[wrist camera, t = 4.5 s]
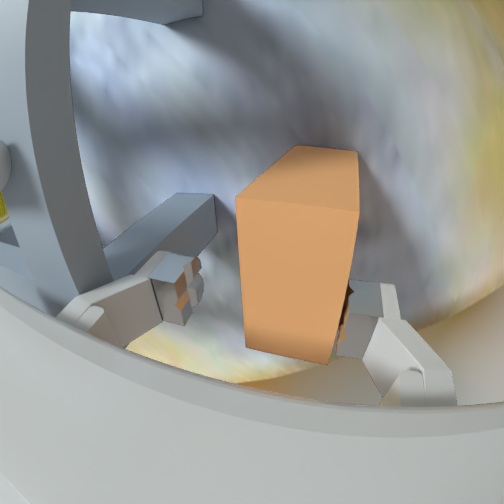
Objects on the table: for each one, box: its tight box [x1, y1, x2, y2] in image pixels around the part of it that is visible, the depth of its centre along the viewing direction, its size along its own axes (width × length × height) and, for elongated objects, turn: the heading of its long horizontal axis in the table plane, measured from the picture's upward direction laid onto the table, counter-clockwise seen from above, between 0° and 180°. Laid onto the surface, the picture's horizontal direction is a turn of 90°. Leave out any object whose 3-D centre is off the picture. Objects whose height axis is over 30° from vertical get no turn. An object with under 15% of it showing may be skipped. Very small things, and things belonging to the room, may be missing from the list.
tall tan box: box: [235, 145, 360, 365], centre depth 11 cm, size 6×3×8 cm, turn 2°
